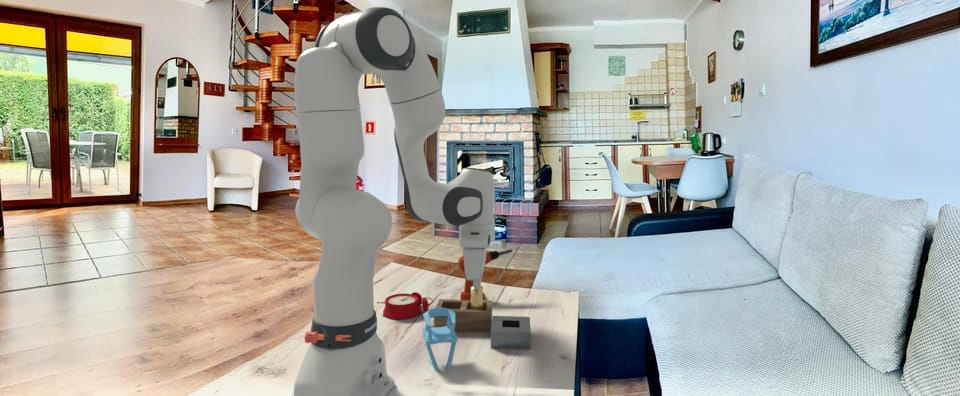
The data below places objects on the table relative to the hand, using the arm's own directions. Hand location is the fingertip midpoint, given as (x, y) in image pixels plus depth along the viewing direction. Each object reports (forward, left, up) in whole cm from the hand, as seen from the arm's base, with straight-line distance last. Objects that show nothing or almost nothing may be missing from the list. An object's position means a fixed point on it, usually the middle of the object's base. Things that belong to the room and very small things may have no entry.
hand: (477, 286), depth 113 cm
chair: (-19, +6, -11) cm, 23 cm away
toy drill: (+24, -1, -11) cm, 26 cm away
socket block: (-8, -9, -11) cm, 16 cm away
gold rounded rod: (0, 0, -10) cm, 10 cm away
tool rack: (0, +3, -11) cm, 12 cm away
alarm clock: (+10, +20, -12) cm, 26 cm away
